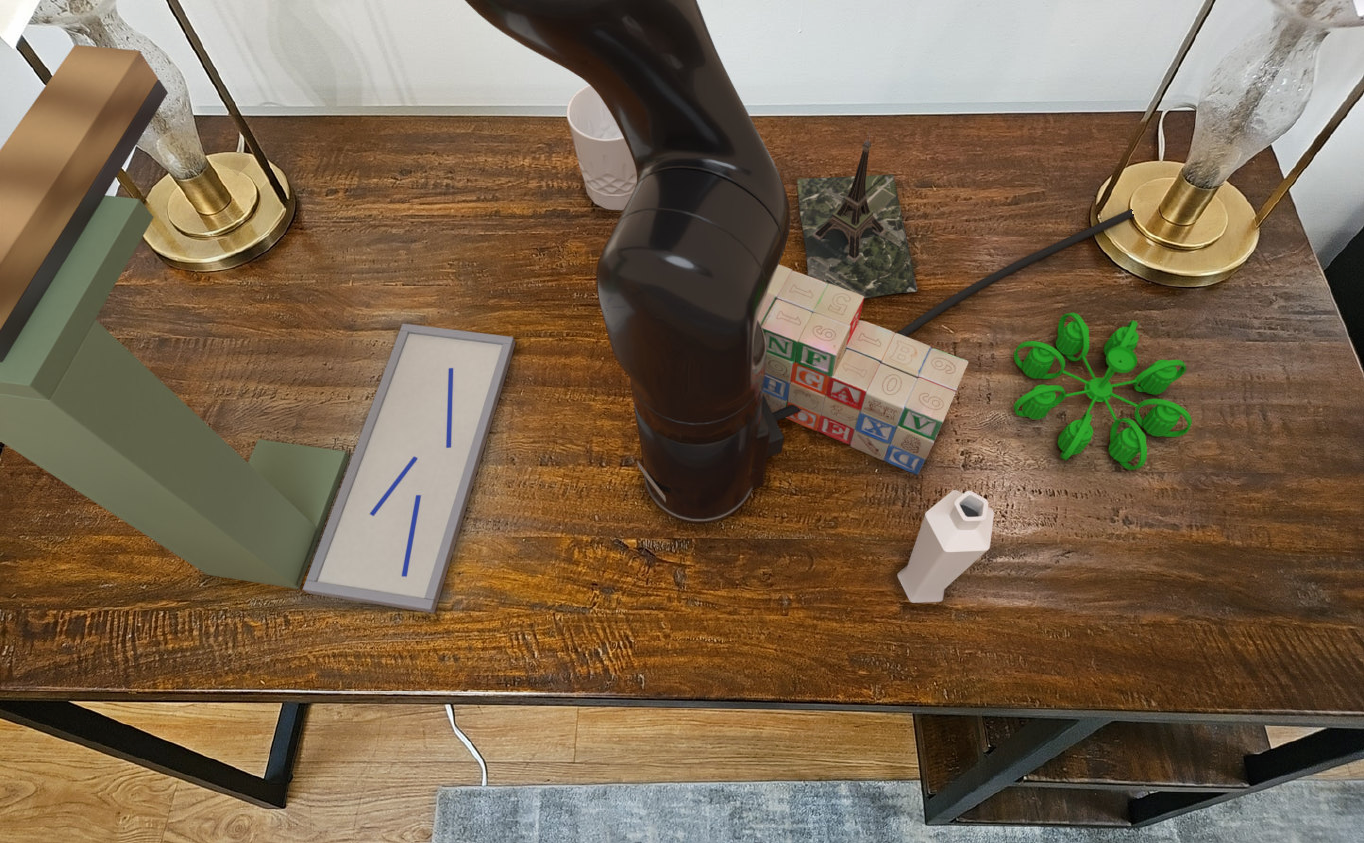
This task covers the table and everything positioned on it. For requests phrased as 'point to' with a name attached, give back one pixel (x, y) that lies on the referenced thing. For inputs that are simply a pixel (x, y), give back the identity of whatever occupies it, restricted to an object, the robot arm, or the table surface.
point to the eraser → (65, 168)
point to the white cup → (601, 151)
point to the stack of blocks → (853, 372)
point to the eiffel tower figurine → (856, 232)
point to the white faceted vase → (947, 545)
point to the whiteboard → (412, 470)
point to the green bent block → (153, 430)
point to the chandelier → (1102, 390)
